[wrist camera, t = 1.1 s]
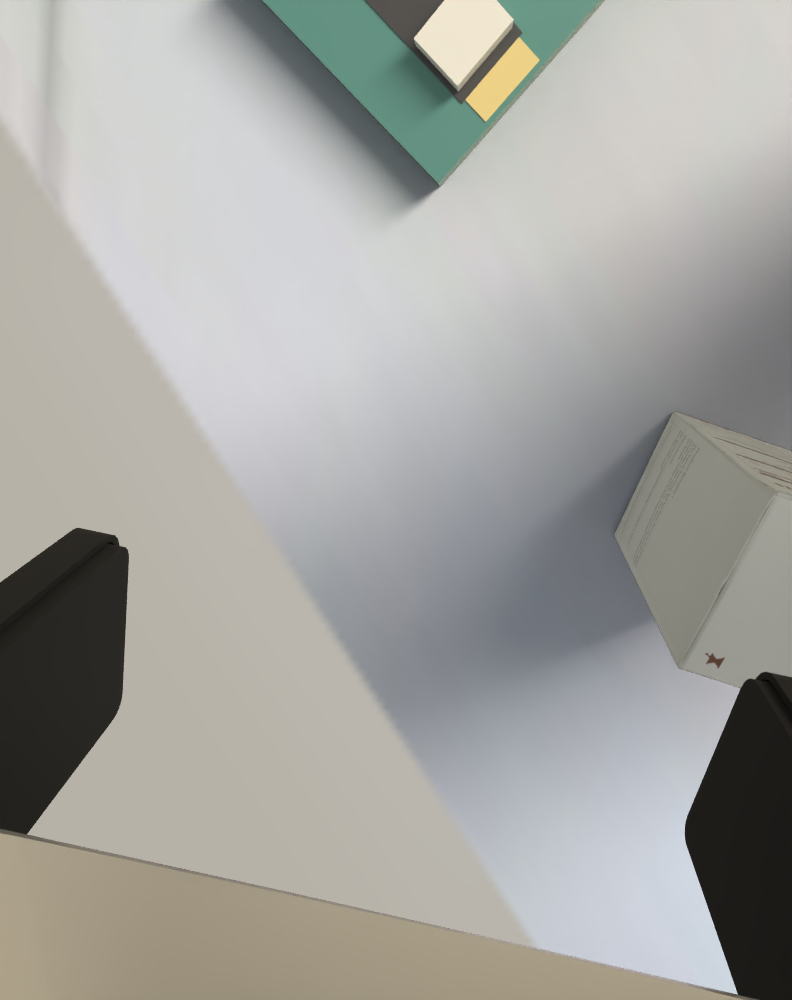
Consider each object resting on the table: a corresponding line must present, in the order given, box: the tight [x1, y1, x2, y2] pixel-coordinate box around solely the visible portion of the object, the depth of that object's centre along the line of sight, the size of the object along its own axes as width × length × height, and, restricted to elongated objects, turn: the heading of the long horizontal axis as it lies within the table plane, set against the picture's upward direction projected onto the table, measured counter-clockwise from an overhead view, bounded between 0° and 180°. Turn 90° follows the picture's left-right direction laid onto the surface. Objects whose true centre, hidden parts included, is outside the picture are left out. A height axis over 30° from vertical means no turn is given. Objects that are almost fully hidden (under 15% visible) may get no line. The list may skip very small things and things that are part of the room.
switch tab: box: [414, 0, 514, 91], centre depth 28 cm, size 3×2×1 cm
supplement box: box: [614, 412, 792, 688], centre depth 30 cm, size 7×7×13 cm
